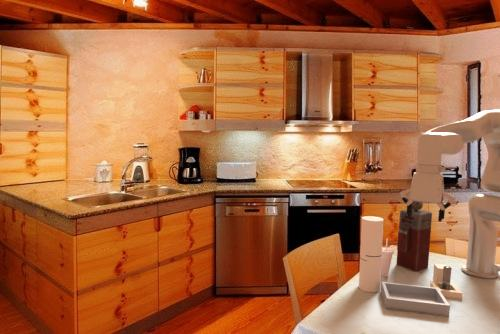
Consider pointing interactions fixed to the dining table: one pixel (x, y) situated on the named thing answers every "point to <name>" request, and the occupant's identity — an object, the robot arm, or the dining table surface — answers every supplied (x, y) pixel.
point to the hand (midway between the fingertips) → (424, 218)
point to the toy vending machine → (414, 238)
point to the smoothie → (386, 259)
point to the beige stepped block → (437, 283)
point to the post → (446, 278)
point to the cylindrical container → (371, 253)
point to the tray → (414, 299)
